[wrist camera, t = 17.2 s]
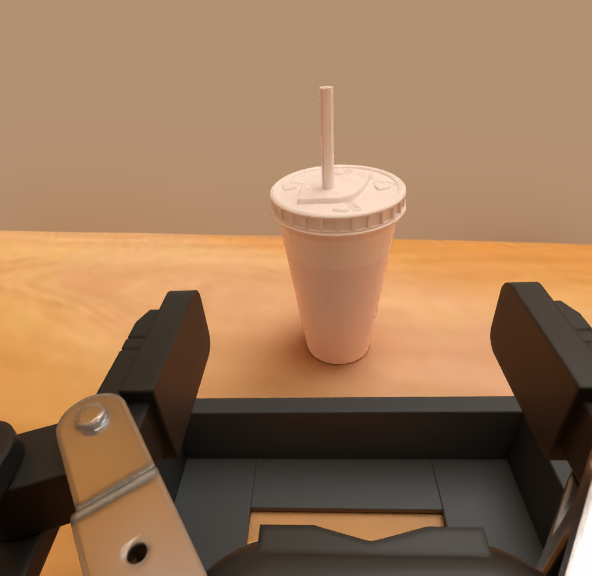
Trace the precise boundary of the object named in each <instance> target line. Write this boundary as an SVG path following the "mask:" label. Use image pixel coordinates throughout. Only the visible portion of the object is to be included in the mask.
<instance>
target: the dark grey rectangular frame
mask: <svg viewBox="0 0 592 576" xmlns="http://www.w3.org/2000/svg"><path fill="white" fill-rule="evenodd" d="M158 471H159V473H160V475H161V477H162V480H163V482H164V484H165V486H166V488H167V490H168V492H169V494H170V497H171V499H172V501H173V503H174V505H175V507H176V509H177V512H178V514H179V516H180V518H181V520H182V522H183V524H184V527H185V529H186V531H187V533H188V535H189V537H190V539H191V542H192V544H193V546H194V548H195V550H196V552H197V554H198V557H199V559H200V561H201V563H202V565H203V567H204V569H205V572H206V571H207V570H208V569H209V568H210V567H211V566H213V565H214V564H215V563H217V562H218V561H219V560H221V559H222V558H223V557H225V556H226V555H228V554H230V553H231V552H233V551H235V550H237V549H239V548H241V547H244V546H246V545H247V539H248V531H249V524H250V516H251V511H301V512H381V513H442V514H443V518H444V523H445V527H483V528H484V531H485V534H486V537H487V541H488V544H489V546H491V547H495V548H497V549H500V550H502V551H505V552H507V553H510V554H512V555H514V556H515V557H517V558H519V559H521V560H523V561H525V562H527V563H528V564H530V565H531V566H533V567H534V568H536V566H537V564H538V562H539V559H540V557H541V555H542V553H543V550H544V548H545V545H546V542H547V539H548V536H549V533H550V530H551V527H552V524H553V521H554V518H555V515H556V512H557V509H558V506H559V503H560V500H561V497H562V494H563V491H564V488H565V485H566V482H567V479H568V477H569V475H570V473H571V471H572V469H571V467H570V465H569V463H568V461H567V460H546V459H545V457H544V455H543V453H542V451H541V449H540V447H539V445H538V443H537V441H536V439H535V437H534V435H533V432H532V430H531V428H530V426H529V424H528V422H527V420H526V418H525V416H524V414H523V412H522V410H521V408H520V406H519V404H518V402H517V400H516V398H515V396H486V397H346V398H205V399H195V403H194V406H193V409H192V413H191V416H190V419H189V423H188V426H187V429H186V433H185V436H184V439H183V443H182V446H181V449H180V453H179V456H178V459H162V460H161V462H160V465H159V468H158Z"/></svg>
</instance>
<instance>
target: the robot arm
mask: <svg viewBox="0 0 592 576" xmlns="http://www.w3.org/2000/svg"><path fill="white" fill-rule="evenodd" d="M490 340H491V346H492V350H493V353H494V355H495V357H496V359H497V361H498V363H499V365H500V367H501V369H502V371H503V373H504V375H505V377H506V379H507V381H508V383H509V385H510V387H511V389H512V392H513V394H514V396H515V398H516V400H517V402H518V404H519V406H520V408H521V410H522V412H523V414H524V416H525V418H526V420H527V422H528V424H529V426H530V428H531V430H532V432H533V435H534V437H535V439H536V441H537V443H538V445H539V447H540V449H541V451H542V453H543V455H544V457H545V459H546V460H567V461H568V463H569V465H570V467H571V469H572V471H571V473H570V475H569V477H568V479H567V482H566V485H565V488H564V491H563V494H562V497H561V500H560V503H559V506H558V509H557V512H556V515H555V518H554V521H553V524H552V527H551V530H550V533H549V536H548V539H547V542H546V545H545V548H544V550H543V553H542V555H541V557H540V559H539V562H538V564H537V566H536V568H534V567H533V566H531V565H530V564H528V563H527V562H525V561H523V560H521V559H519V558H517V557H515V556H514V555H512V554H510V553H507V552H505V551H502V550H500V549H497V548H495V547H491V546H489V544H488V541H487V537H486V534H485V531H484V528H483V527H424V528H420V529H416V530H413V531H409V532H406V533H402V534H398V535H395V536H391V537H387V538H384V539H380V540H376V541H367V540H363V539H359V538H356V537H352V536H349V535H345V534H342V533H339V532H335V531H332V530H328V529H325V528H321V527H318V526H314V525H260V530H259V539H258V542H255V543H251V544H248V545H246V546H244V547H241V548H239V549H237V550H235V551H233V552H231V553H230V554H228V555H226V556H225V557H223V558H222V559H221V560H219V561H218V562H217V563H215V564H214V565H213V566H211V567H210V568H209V569H208V570H207V571H206V572H205V569H204V567H203V565H202V563H201V561H200V559H199V557H198V554H197V552H196V550H195V548H194V546H193V544H192V542H191V539H190V537H189V535H188V533H187V531H186V529H185V527H184V524H183V522H182V520H181V518H180V516H179V514H178V512H177V509H176V507H175V505H174V503H173V501H172V499H171V497H170V494H169V492H168V490H167V488H166V486H165V484H164V482H163V480H162V477H161V475H160V473H159V471H158V468H159V465H160V462H161V460H162V459H178V456H179V453H180V449H181V446H182V443H183V439H184V436H185V433H186V429H187V426H188V423H189V419H190V416H191V413H192V409H193V406H194V403H195V399H196V396H197V393H198V389H199V386H200V383H201V379H202V376H203V373H204V369H205V366H206V363H207V360H208V356H209V351H210V336H209V331H208V326H207V322H206V318H205V314H204V309H203V305H202V301H201V297H200V294H199V292H198V291H197V290H190V291H169V292H168V293H167V295H166V297H165V299H164V301H163V303H162V305H161V307H160V309H159V310H150V311H148V312H147V313H146V314H145V315H144V316H143V317H141V318H140V319H139V320H138V321H137V322H136V323H135V325H134V327H133V329H132V330H131V332H130V334H129V336H128V339H127V340H126V341H125V343H124V345H123V347H122V351H120V352H119V354H118V356H117V358H116V359H115V361H114V363H113V365H112V367H111V369H110V370H109V372H108V374H107V376H106V378H105V379H104V381H103V383H102V385H101V387H100V388H99V390H98V392H97V394H96V395H92V396H89V397H87V398H85V399H83V400H81V401H79V402H77V403H76V404H74V405H73V406H72V407H71V408H69V409H68V410H67V411H66V412H65V414H64V415H63V416H62V417H61V419H60V421H59V423H57V424H54V425H51V426H47V427H43V428H40V429H36V430H32V431H29V432H25V433H21V434H18V435H17V433H16V432H15V430H14V429H13V427H12V426H11V425H10V424H9V423H7V422H4V421H0V576H39V575H40V573H41V570H42V568H43V565H44V563H45V561H46V558H47V556H48V554H49V551H50V549H51V547H52V544H53V542H54V540H55V537H56V535H57V533H58V530H59V528H60V526H63V525H66V524H69V523H71V527H72V531H73V535H74V539H75V544H76V548H77V552H78V556H79V560H80V564H81V568H82V572H83V576H592V328H591V327H590V325H589V324H588V323H587V322H586V321H585V319H584V318H583V317H582V316H581V314H580V313H578V312H577V311H575V310H574V309H572V308H571V307H569V306H568V305H566V304H565V303H563V302H562V301H553V299H552V298H551V297H550V296H549V294H548V293H547V292H546V290H545V289H544V288H543V286H542V285H541V284H540V283H538V282H512V283H505V284H504V285H503V286H502V288H501V291H500V295H499V299H498V303H497V307H496V311H495V315H494V318H493V322H492V326H491V332H490Z"/></svg>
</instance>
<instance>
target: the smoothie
mask: <svg viewBox="0 0 592 576" xmlns="http://www.w3.org/2000/svg"><path fill="white" fill-rule="evenodd" d="M319 98H320V130H321V131H320V133H321V166H319V167H313V168H308V169H304V170H301V171H297V172H294V173H292V174H289V175H287V176H285V177H283V178H282V179H280V180H279V181H278V182H277V183H275V184H274V186H273V187H272V189H271V192H270V199H271V215H272V216H273V218H274V219H275V221H276V222H278V223H279V224H280V227H281V231H282V236H283V241H284V246H285V250H286V253H287V258H288V262H289V267H290V271H291V275H292V280H293V284H294V289H295V293H296V297H297V302H298V306H299V310H300V315H301V319H302V324H303V328H304V332H305V337H306V341H307V346H308V349H309V351H310V352H311V354H312V355H313V356H315V357H316V358H317V359H319V360H321V361H324V362H327V363H331V364H347V363H351V362H354V361H356V360H358V359H360V358H361V357H363V356H364V355H365V354H366V353H367V351H368V349H369V345H370V341H371V336H372V331H373V327H374V322H375V318H376V313H377V308H378V304H379V299H380V294H381V290H382V285H383V280H384V276H385V271H386V267H387V262H388V257H389V253H390V248H391V245H392V239H393V234H394V229H395V224H396V221H398V220H399V219H400V218H401V217H402V215H403V214H404V213H405V211H406V202H405V195H406V187H405V184H404V183H403V182H402V181H401V180H400V179H399V178H398V177H397V176H395V175H393V174H391V173H389V172H386V171H383V170H380V169H376V168H372V167H365V166H358V165H334V128H333V87H332V86H323V87H320V88H319Z"/></svg>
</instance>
